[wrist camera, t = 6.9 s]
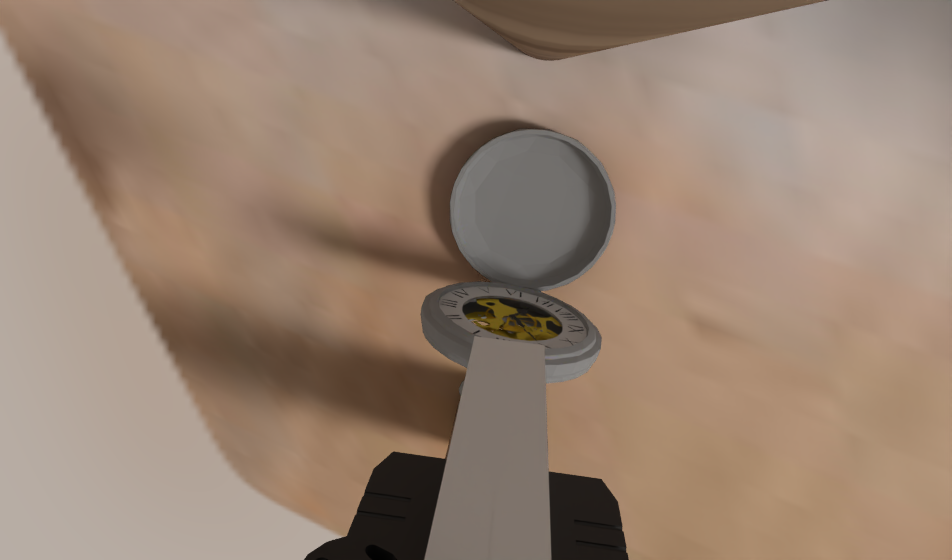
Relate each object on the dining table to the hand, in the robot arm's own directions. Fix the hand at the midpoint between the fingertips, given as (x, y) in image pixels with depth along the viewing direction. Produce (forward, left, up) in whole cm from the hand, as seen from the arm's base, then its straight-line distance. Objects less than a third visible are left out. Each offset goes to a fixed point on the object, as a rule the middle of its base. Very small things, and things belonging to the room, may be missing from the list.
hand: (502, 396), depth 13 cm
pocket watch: (0, 0, -14) cm, 14 cm away
